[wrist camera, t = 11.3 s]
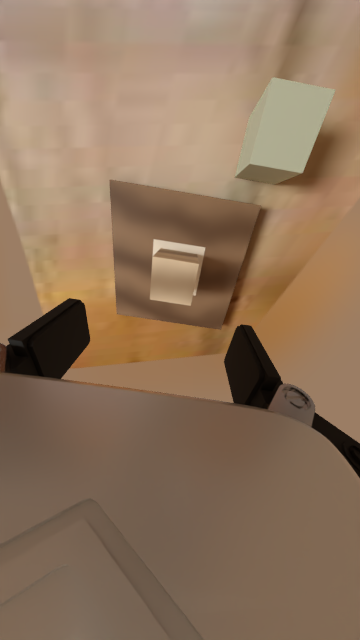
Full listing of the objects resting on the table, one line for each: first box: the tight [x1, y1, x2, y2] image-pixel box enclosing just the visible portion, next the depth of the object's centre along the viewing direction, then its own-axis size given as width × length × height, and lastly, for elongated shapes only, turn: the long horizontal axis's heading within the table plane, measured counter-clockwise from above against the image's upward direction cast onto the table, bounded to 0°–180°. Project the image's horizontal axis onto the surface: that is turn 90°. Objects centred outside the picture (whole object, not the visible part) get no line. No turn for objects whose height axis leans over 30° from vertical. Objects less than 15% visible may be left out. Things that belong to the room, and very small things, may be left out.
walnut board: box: [110, 180, 261, 330], centre depth 25 cm, size 18×18×2 cm
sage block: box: [235, 77, 335, 184], centre depth 17 cm, size 5×5×6 cm
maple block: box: [150, 248, 199, 306], centre depth 22 cm, size 5×5×6 cm
